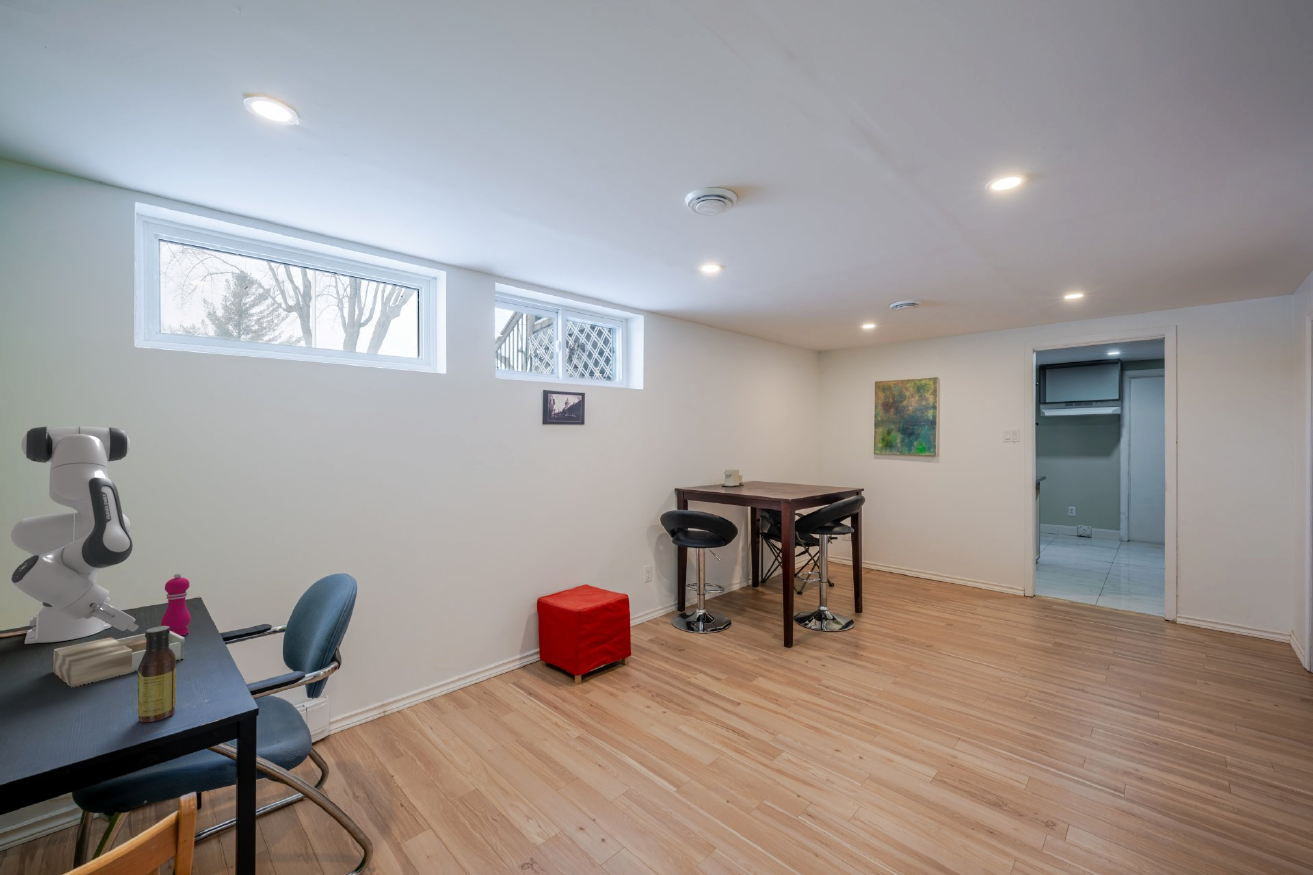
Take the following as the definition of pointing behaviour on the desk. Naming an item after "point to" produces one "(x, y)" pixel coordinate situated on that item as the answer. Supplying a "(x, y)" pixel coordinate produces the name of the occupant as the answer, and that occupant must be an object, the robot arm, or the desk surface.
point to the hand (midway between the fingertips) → (134, 628)
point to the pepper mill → (177, 605)
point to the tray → (174, 644)
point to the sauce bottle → (157, 677)
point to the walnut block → (136, 644)
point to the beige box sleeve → (92, 661)
